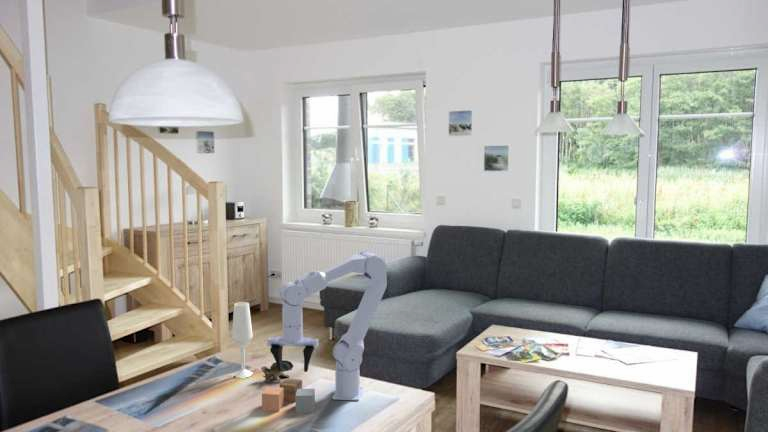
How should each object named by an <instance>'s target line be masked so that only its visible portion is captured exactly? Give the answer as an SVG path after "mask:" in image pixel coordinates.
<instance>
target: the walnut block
mask: <svg viewBox="0 0 768 432" xmlns="http://www.w3.org/2000/svg"><path fill="white" fill-rule="evenodd" d="M279 388H284V402H291V403H292V402H293V403H296V399H295V396H296V392H297V389H303V379H296V378H289V377H286V378H285V379H283V381H282V382H280V383H279Z"/></svg>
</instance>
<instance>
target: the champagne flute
mask: <svg viewBox="0 0 768 432" xmlns="http://www.w3.org/2000/svg"><path fill="white" fill-rule="evenodd" d="M251 316H252V315H251V310H250V303H249V302H246V301H239V302H235V303H234V304H233V315H232V328H231V329H232V332H231V338H232V339H231V340H232V341H233V342H234V343H235V344H236V346H238V347H240V363H241V364H240V365H241V367H240V368H241V369H240V370H238V371H236V372H235V373H234V374H233V375H235V376H236V377H240V378H244V379H246V378H245V377H249V376H251V375H252V374H253V373H254V372H252V371H250V370H248V369H246V360H245V359H246V356H245V355H246V353H245V351H246V350H245V349H246V347H247V345H249V343H251V342H252V341H251V340H252V339H253V337H254V333H253V327H252V317H251ZM249 378H250V377H249Z"/></svg>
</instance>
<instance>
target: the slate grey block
mask: <svg viewBox="0 0 768 432" xmlns="http://www.w3.org/2000/svg"><path fill="white" fill-rule="evenodd" d="M315 393H316V389H315V388H302V389H297V392H296V396H295V399H296V402H295V413H314V412H315V411H314V410H315V406H316V403H315V402H316V398H315V397H316V396H315V395H316V394H315Z"/></svg>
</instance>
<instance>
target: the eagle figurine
mask: <svg viewBox="0 0 768 432" xmlns="http://www.w3.org/2000/svg"><path fill="white" fill-rule="evenodd" d="M282 364H283V365H282V369H281V371H278V367H277V363H276V362H273V363H272V364H271V366H270V367H269V368H268V367H267V366H261V367H260V370H261V372H262V373H264V374H263V375H262V377H263V378H265V381H264V383H265V384H267V383H268V381H269V380H270V379H271V378H273V379H276V380H277V381H278V383H281V378H280V376H283V377H286V378H289V377H290V376H289V375H287V374H285V373H284V372H289V371H291V370H292V369H293V368H294V365H293V363H292V362H291V361H290V360H285V359H282Z"/></svg>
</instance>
